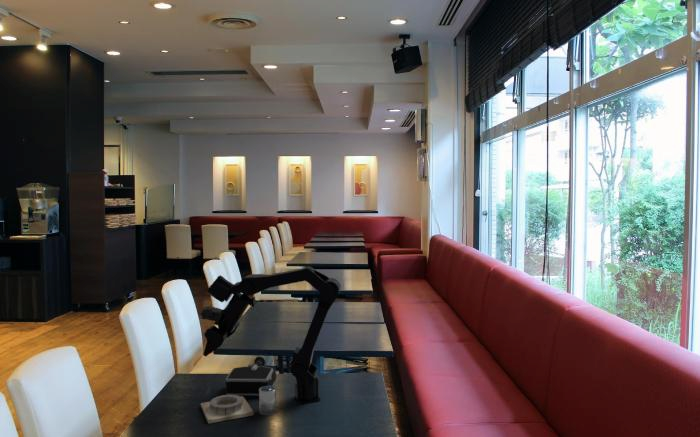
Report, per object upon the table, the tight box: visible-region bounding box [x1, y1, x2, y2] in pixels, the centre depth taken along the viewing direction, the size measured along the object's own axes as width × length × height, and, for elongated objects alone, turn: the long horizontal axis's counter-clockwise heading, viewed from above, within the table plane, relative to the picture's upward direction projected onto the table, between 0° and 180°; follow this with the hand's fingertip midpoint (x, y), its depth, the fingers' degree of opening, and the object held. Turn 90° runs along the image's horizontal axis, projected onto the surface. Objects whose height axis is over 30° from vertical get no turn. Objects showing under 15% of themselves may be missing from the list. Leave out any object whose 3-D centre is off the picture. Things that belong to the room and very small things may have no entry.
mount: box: [200, 394, 255, 424], centre depth 160 cm, size 13×13×3 cm
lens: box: [258, 385, 277, 417], centre depth 159 cm, size 5×5×7 cm
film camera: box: [225, 355, 277, 397], centre depth 179 cm, size 8×16×15 cm
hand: (209, 350), depth 169 cm, fingers open, 9 cm apart
